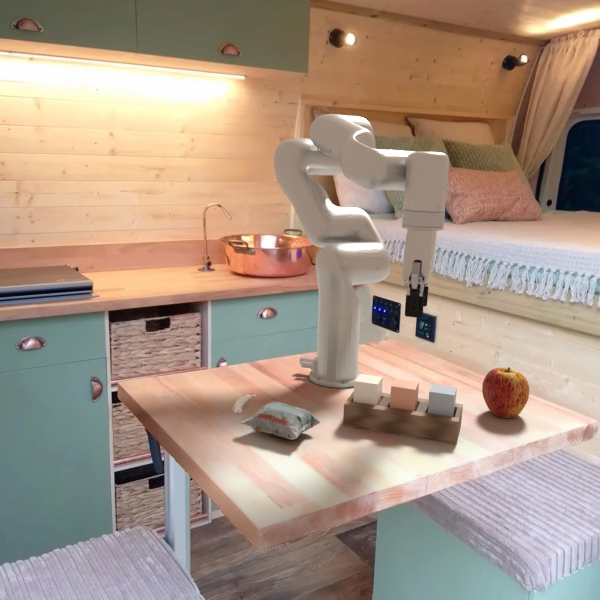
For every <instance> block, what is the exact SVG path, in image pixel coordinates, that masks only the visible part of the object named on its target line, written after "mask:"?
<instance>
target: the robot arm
mask: <svg viewBox="0 0 600 600" xmlns="http://www.w3.org/2000/svg"><path fill="white" fill-rule="evenodd" d="M273 168H274V175H275V177H276V181H277V183H278V185H279V187H280V189H281V190H282V192H283V194H284V195H285V196H286V198H287V199H288V201H289V202H290V203H291V205H292V207H293V208H294V211H295V214H296V216H297V218H298V220H299V222H300V224H301V226H302V228H303V230H304V232H305V235H306V237H307V238H308V240H309V241H310V243H311V244H312V245H313V246H315V247H316V248H321V249H320V250H319V251H318V252H317V253H316V257H315V265H314V266H315V272H316V281H317V288H318V290H317V292H318V304H317V305H318V309H317V312H318V314H317V315H318V317H317V337H316V338H317V341H316V342H317V343H316V357H315V356H314V357H313V358H311V357H307V356H300V357H299V365H300V367H301V368H305V369H310V371H309V380H310V381H311V382H312V383H313V384H316V385H319V386H322V387H326V388H327V387H328V388H336V389H337V388H338V389H343V388H344V389H346V388H354V381H355V380H356V378H357V377H358V376H359V375H360V374H363V373H362V371H359V370H358V369H359V368H358V367H359V366H358V365H359V348H360V347H359V346H360V345H359V344H360V327H361V302H360V299H359V297H358V295H357V293H356V291H355V289H354V287H353V286H357V285H365V284H375V283H379V282H382V281H384V280H385V279H387V277H388V276H389V274H390V271H391V267H392V265H391V264H392V263H391V257H390V253H389V250H388V249H387V248H388V247H387V246H386V244H385V242H384V241H383V238H382V237H381V235H380V233H379V231H378V229H377V227H376V225H375V224H374V222H373V220H372V219H371V217H370V215H369V214H368V213H367V212H366V211H365V210H364V209H362V208H360V207H357V206H338V205H335V204H334V203H333V202H332V201H331V199H330V197H329V195H328V193H327V191H326V190H325V188H324V187H323V186H322V185H321V184H320V182H317V181H316V180H315V179H314V178H312V177H311V176H335V175H339V174H343V176H344V177H345V178H346V179H348V180H350V181H351V182H352V183H354V184H356V185H358V186H360V187H361V188H363V189H367V190H371V191H397V192H398V191H402V192H404V197H403V210H402V221H401V222H402V225H401V228H403V229H405V230H406V235H405V242H404V251H403V252H404V253H403V259H402V260H403V262H402V269H401V271H402V272H401V282H402V283H406V282H407V281H408V284H407V289H406V295H405V304H404V305H405V307H404V308H405V309H404V316H405V317H407V318H416V319H417V318H418V319H421V318H422V317H423V316H424V315H423V314H424V307H427V306H428V297H429V285H428V284H429V281H430V279H431V277H432V272H433V266H434V261H435V253H436V242H437V231H443V230H444V227H445V226H444V225H445V216H446V215H445V214H446V203H447V191H448V182H449V181H448V179H449V170H450V169H449V168H450V159H449V156H448V155H447V154H446V153H444V152H441V151H440V152H439V151H414V150H400V149H388V148H387V149H384V148H383V149H382V148H381V149H378V148H376V139H375V135H374V129H373V126H372V125H371V123H370V121H368V120H367V119H366V118H364V117H362V116H359V115H349V114H347V115H346V114H338V113H325V114H322V115H320V116H318V117H316V118H315V119H314V120H313V121H312V123H311V125H310V128H309V138H307V137H297V138H295V137H294V138H290V139H286V140H284V141H281V142H280V143H279V145H277V147H276V148H275V151H274V155H273Z"/></svg>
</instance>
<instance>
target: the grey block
mask: <svg viewBox="0 0 600 600" xmlns="http://www.w3.org/2000/svg"><path fill="white" fill-rule="evenodd" d="M430 386H431V387H430V388H429V392H428V399H429V401H428V413H430V414H436V415H443V416H449V417H454V413H455V403H457V402H456V401H457V393H458V391H457V389H458V387H457V386H450V385H443V384H436V383H432V384H431V385H430Z"/></svg>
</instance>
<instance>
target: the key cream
mask: <svg viewBox="0 0 600 600" xmlns="http://www.w3.org/2000/svg"><path fill="white" fill-rule="evenodd" d="M383 379H384V378H383V376H379V375H372V374H370V375H369V374H364V373H362V374H360V375H359V376H358V377H357V378H356V380H355V381H354V386H353V391H354V398H353V402H358V403H364V404H371V405H377V406H378V405H379V404H380V402H381V397H382V393H383Z"/></svg>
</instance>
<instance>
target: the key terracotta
mask: <svg viewBox="0 0 600 600" xmlns="http://www.w3.org/2000/svg"><path fill="white" fill-rule="evenodd" d="M419 387H420V382H419V381H415V380H414V381H413V380H407V379H400V378H395V379H394V380H393V382H392V384H391V386H390V394H391V395H390V407H391V408H397V409H404V410H410V411H416V409H417V403H418V398H419V391H420V390H419Z"/></svg>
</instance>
